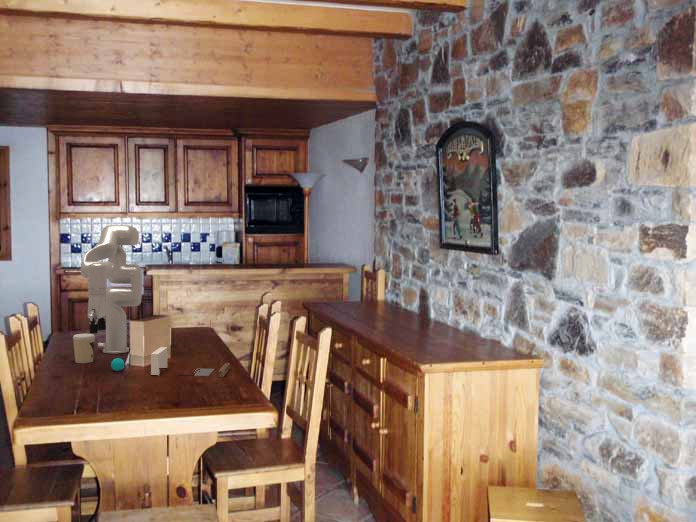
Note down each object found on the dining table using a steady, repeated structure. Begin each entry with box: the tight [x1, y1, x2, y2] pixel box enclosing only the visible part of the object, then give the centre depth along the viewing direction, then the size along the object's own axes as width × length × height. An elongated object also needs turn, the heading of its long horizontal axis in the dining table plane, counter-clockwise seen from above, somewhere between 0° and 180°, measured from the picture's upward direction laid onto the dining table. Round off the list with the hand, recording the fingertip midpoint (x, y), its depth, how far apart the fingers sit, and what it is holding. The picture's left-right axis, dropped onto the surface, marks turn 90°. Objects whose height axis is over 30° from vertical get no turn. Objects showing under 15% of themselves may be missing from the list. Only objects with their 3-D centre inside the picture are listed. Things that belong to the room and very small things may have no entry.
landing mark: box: [193, 368, 215, 377], centre depth 314 cm, size 13×13×1 cm
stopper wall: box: [217, 362, 231, 378], centre depth 314 cm, size 2×16×2 cm, turn 179°
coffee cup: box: [72, 333, 96, 364], centre depth 331 cm, size 9×9×12 cm
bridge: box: [150, 346, 168, 376], centre depth 314 cm, size 3×14×9 cm, turn 179°
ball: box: [110, 357, 125, 372], centre depth 314 cm, size 6×6×6 cm
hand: (97, 331), depth 314 cm, fingers open, 9 cm apart
